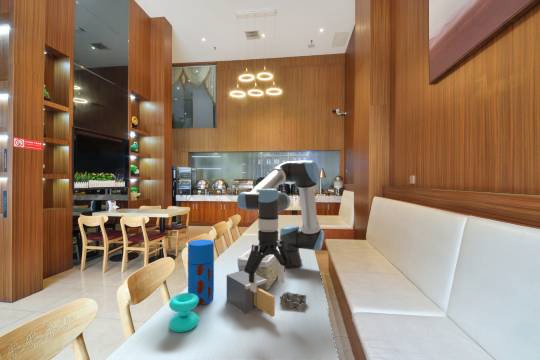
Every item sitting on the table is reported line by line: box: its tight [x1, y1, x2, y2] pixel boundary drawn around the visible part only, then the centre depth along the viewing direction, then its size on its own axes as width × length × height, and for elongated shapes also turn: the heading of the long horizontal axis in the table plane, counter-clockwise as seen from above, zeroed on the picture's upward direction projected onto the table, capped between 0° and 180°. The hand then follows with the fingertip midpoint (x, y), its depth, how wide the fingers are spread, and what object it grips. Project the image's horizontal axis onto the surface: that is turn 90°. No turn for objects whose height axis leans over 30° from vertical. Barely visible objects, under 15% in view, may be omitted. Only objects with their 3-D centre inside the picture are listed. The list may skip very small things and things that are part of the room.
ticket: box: [253, 287, 276, 318], centre depth 102 cm, size 22×1×7 cm, turn 40°
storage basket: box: [237, 247, 281, 292], centre depth 130 cm, size 24×16×15 cm
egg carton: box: [279, 291, 307, 310], centre depth 106 cm, size 11×8×4 cm
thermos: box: [187, 239, 215, 307], centre depth 110 cm, size 11×11×25 cm
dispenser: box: [226, 270, 267, 315], centre depth 106 cm, size 15×10×11 cm, turn 40°
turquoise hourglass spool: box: [168, 292, 200, 333], centre depth 91 cm, size 10×10×10 cm
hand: (267, 286), depth 95 cm, fingers open, 13 cm apart
